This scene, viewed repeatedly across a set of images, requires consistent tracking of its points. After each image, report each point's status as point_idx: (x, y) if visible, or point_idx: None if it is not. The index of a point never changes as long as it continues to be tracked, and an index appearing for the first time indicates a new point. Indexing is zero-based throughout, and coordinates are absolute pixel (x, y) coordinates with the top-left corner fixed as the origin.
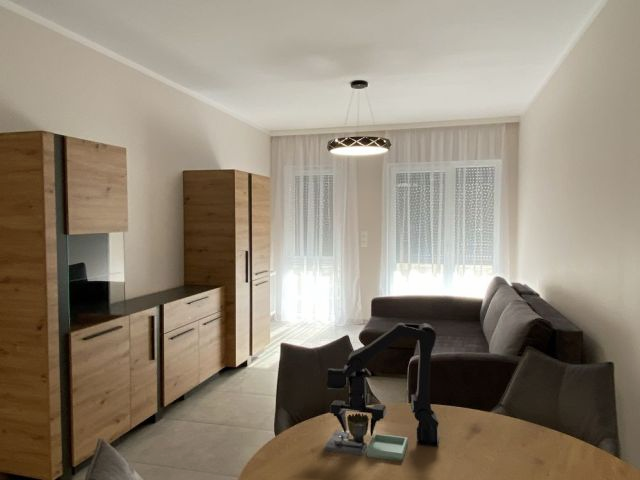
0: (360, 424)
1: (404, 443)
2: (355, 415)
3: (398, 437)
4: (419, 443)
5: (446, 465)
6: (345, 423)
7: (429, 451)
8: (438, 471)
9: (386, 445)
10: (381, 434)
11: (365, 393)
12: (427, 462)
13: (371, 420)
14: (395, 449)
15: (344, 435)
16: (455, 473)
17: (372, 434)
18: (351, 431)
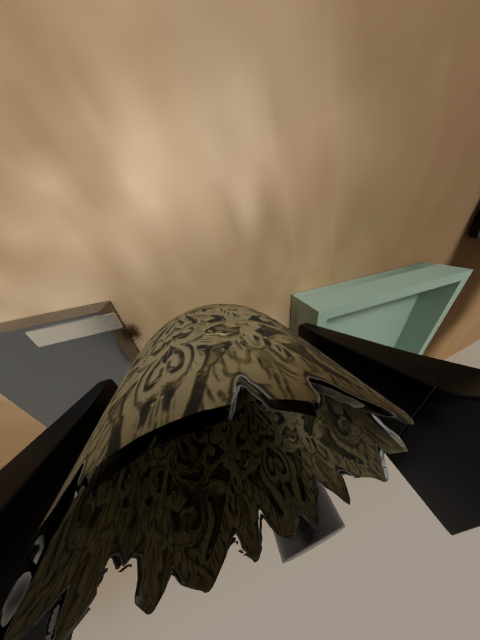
0: (322, 536)
1: (435, 329)
2: (102, 471)
3: (433, 288)
4: (478, 237)
5: (468, 326)
6: (72, 466)
7: (472, 275)
8: (439, 357)
9: (352, 332)
10: (358, 302)
11: None
12: (434, 337)
13: (434, 504)
14: (379, 340)
15: (116, 375)
16: (465, 345)
17: (307, 325)
18: (200, 436)
